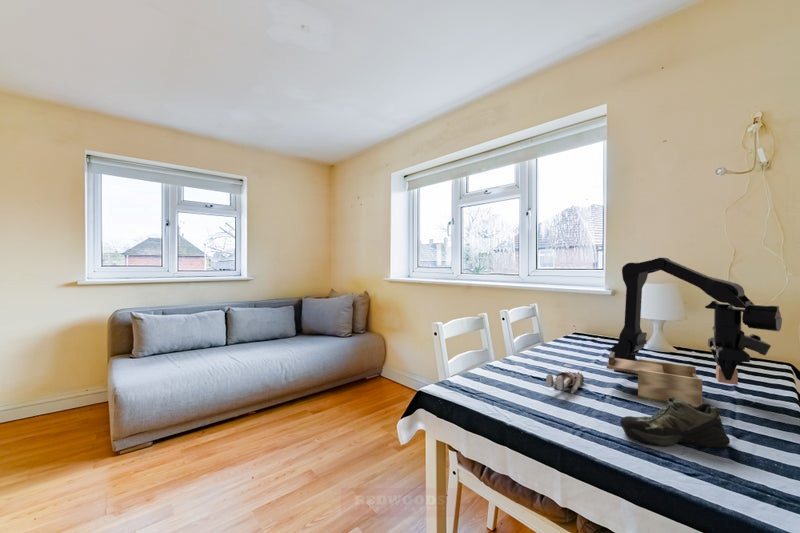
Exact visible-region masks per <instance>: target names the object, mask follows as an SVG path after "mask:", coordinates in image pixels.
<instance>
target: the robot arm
mask: <svg viewBox="0 0 800 533" xmlns="http://www.w3.org/2000/svg"><path fill="white" fill-rule="evenodd" d="M621 268H622V269H621V274H622V280H623V283H624V284H625V305H624V306H625V308H624V309H625V310H624V325H623V328H622V330H621V332H620V333H619V337H618V341H617V343H616V344H615V345H613V346H612V347H611V348H610V350H611V351H610V352H615V358H619V359H626V360H633V361H638V358H636V355H638V354H639V351H640V350H642V349H643V348H644V347H645V345H646V344H647V334H648V333H647V332H643V330H642V328H641V316H642V315H641V314H642V313H641V312H642V299H643V298H642V296H643V295H642V294H643V287H644V285H645V284H646V282H647V280H648V277H649V274H651V273H656V272H659V271H662V272H664V273H667V274H669V275H671V276H673V277H675V278H677V279H680V280H682V281H684V282H686V283H689V284H691V285H693V286H695V287H697V288H698V289H700V290H702V291H703V293H705V294H706V295H708V296H709V297H710V298H712V299H713V300H711V302H710V303H708V304H707V305H705V306H704V308H705V309H711V310H714V313H713V316H714V319H713V326H712V330H713V337H710V338H708V340H707V346H708V348H710V350H709V351H710V352H711V354H712V356H713V358H714V360H715V361H714V362H716V365H719V366H720V368H721V371H722V373H723V375H724V377H725V379H726V380H731V379H732V376H733V373H734V371H735V369H736V368H737V366H738V365H739V364H742V363H750V362H751V356H750V354H749V353H748V352H746V351H745V349H748V350H751V351H752V352H753V351H754V352H755V353H758V354H760V355H762V356H766V355H767V354H768V351H769V350H770V349H771V346H772V345H771V344H770V343H768V342H766V341H763V340H761V339H762V338H761V336H759V335H757V334H754V333H751V334H749V335H745V334H746V333H745V332H744V330H742V324H743V325H745V326H747V328H749V329H755V330H764V331H772V332H780V331H781V329H782V323H783V317H782V315H781V312H780V307H779V306H778V305H760V304H759V305H757V304H754V302H753V301H751V299H749V298H748V296H747V295H746V294H745V289H744V287H743V286H741V285H740V284H738V283H736V282H732V281H729V280H724V279H721V278H716V277H712V276H708V275H706V274H704V273H701V272H699V271H697V270H694V269H692V268H689V267H687V266H684V265H682V264H680V263H678V262H675V261H673V260H671V259H669V257H668V258H667V257H656V258H654V259H651V260H646V261H645V260H644V261H642V262H628V263H626V264H624V265H623V266H622V267H621ZM712 347H713V348H712ZM614 372H620V373H627V374H633V375H636V374H637V373H631V372H625V371H619V370H614Z"/></svg>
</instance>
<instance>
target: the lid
mask: <svg viewBox="0 0 800 533" xmlns="http://www.w3.org/2000/svg"><path fill="white" fill-rule="evenodd" d="M606 369H608V370H619V371H625V372H631V373H636V374H637V375H638V369H640V370H647V371H653V372H659V373H664V372H663V367H662V365H660V364H654V363H647V362H640V361H638V360H637V361H633V360H626V359H619V358H615V352H612V351H610V352H609V355H608V360H607V364H606ZM619 371H618V372H619ZM625 372H624V373H625ZM631 373H630V374H631Z"/></svg>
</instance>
